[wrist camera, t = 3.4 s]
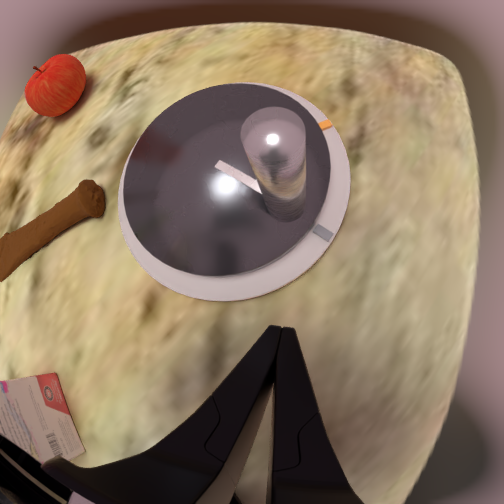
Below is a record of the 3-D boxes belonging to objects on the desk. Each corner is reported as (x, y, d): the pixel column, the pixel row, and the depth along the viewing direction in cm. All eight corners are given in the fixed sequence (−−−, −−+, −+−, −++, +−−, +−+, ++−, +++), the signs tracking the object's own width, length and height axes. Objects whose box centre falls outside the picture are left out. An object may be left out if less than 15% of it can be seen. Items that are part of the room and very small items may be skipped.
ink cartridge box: (32, 376, 22) (-82, 386, 8) (57, 371, 21) (-73, 386, 7) (58, 450, 20) (-44, 487, 6) (87, 453, 19) (-25, 504, 5)
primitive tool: (2, 284, 25) (-20, 280, 22) (0, 242, 27) (-20, 236, 23) (112, 219, 23) (87, 206, 20) (106, 169, 25) (84, 152, 21)
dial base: (393, 230, 19) (399, 225, 18) (166, 340, 20) (157, 341, 19) (278, 64, 23) (276, 54, 22) (108, 152, 24) (100, 146, 23)
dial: (370, 214, 18) (416, 142, 9) (167, 313, 19) (73, 313, 10) (269, 69, 22) (250, -17, 13) (115, 149, 23) (50, 92, 14)
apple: (55, 137, 27) (12, 105, 19) (46, 109, 29) (10, 80, 21) (103, 90, 27) (66, 49, 19) (87, 68, 29) (56, 34, 21)
